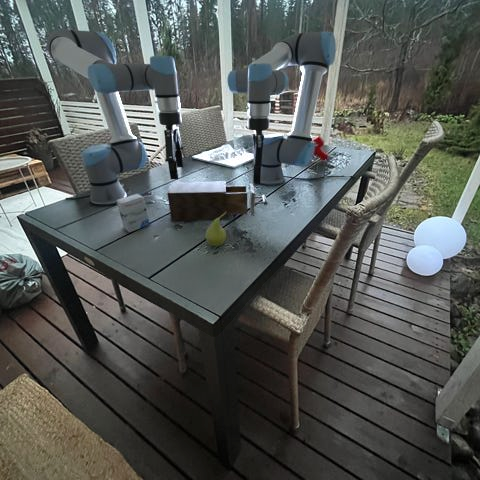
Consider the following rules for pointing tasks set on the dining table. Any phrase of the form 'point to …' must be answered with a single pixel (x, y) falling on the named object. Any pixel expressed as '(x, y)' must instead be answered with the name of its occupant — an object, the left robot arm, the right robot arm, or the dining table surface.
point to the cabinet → (197, 200)
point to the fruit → (216, 233)
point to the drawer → (241, 199)
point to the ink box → (133, 212)
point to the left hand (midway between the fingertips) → (177, 172)
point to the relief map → (226, 156)
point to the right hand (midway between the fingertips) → (256, 182)
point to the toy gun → (319, 148)
